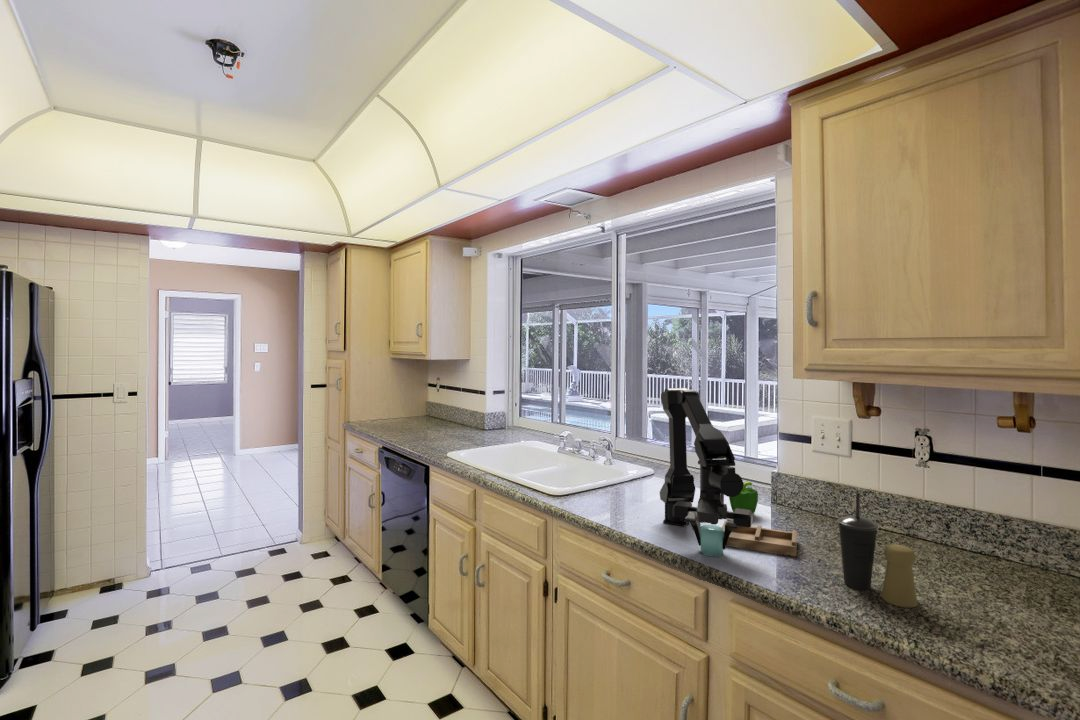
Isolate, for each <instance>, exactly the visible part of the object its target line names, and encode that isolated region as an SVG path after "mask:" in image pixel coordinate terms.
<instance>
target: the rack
mask: <svg viewBox="0 0 1080 720" xmlns="http://www.w3.org/2000/svg"><path fill="white" fill-rule="evenodd" d="M726 522H727V521H726V520H724V522H723V524H722V528H723V539H724V532H725V524H726ZM797 531H798V530H792V531H787V530H780V529H773V528H764V527H762V525H757V526H752V525H751V527H742V526H738V528H737V529H734V528H733V530H732V532H731V533H730V536H729V539H728V542H727V544H726V547H731V548H732V547H734V548H740V549H744V550H745V549H746V550H751V551H758V552H764V553H769V554H778V555H782V554H784V555H783V556H788V555H791V557H795V556H796V557H797V546H798V545H797V543H798V541H797V540H798V539H797V536H798V535H797V534H798V532H797Z"/></svg>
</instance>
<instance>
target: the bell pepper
mask: <svg viewBox="0 0 1080 720" xmlns="http://www.w3.org/2000/svg"><path fill="white" fill-rule="evenodd" d="M752 485H753V482H751V481H747V482H743V489H742V491H741V493H740V494H739V495H737V496H735V497H728V498H729V499H728V500H729V503H730V507H731V510H732V511H731V512H734V511H735V509H736V508H739V509H747V510H751V512H752V513H753V515H754V514H755V512H756V510H757V506H758V502H759V493H758V491H757V490H756V489H754V488H753V487H752ZM747 486H749V487H747ZM750 486H751V487H750Z"/></svg>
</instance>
